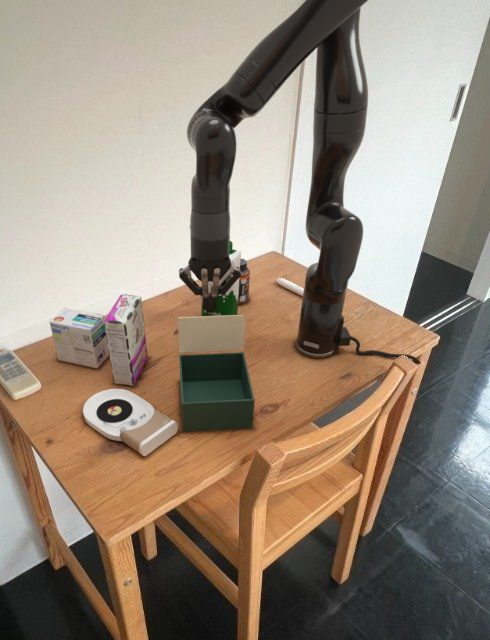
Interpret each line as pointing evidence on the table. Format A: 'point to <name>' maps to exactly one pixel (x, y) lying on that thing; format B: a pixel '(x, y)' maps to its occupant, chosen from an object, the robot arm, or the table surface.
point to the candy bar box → (126, 339)
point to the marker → (290, 286)
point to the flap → (211, 333)
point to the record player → (128, 420)
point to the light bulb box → (80, 337)
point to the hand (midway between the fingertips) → (209, 311)
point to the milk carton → (229, 300)
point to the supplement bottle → (243, 282)
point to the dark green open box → (215, 392)
